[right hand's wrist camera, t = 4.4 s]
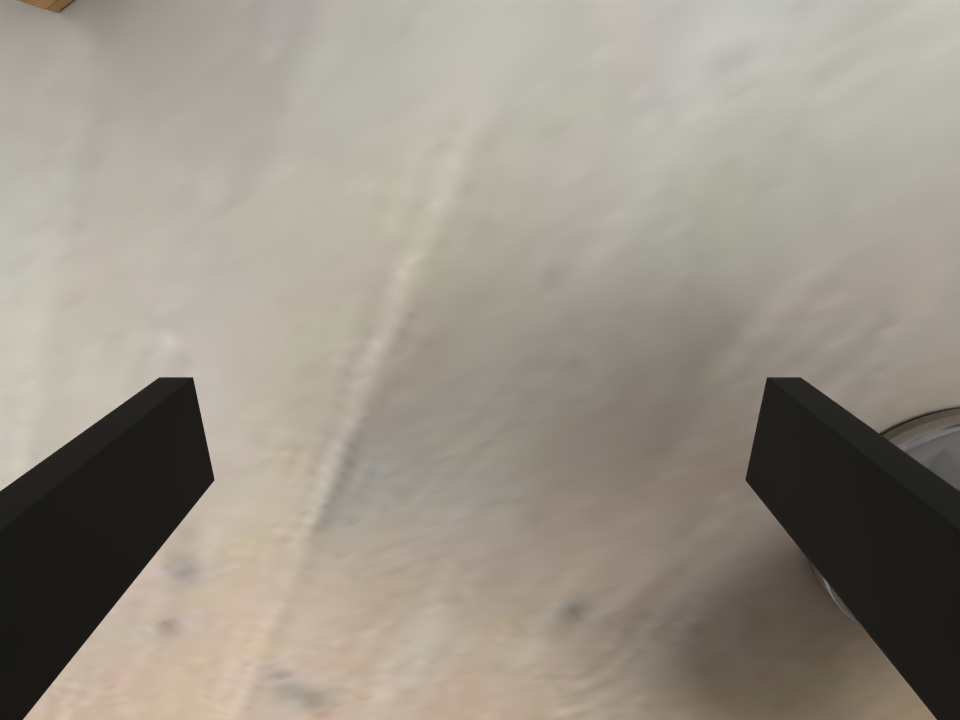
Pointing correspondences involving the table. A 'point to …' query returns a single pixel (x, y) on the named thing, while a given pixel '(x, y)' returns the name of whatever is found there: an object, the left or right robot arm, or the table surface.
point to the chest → (48, 4)
